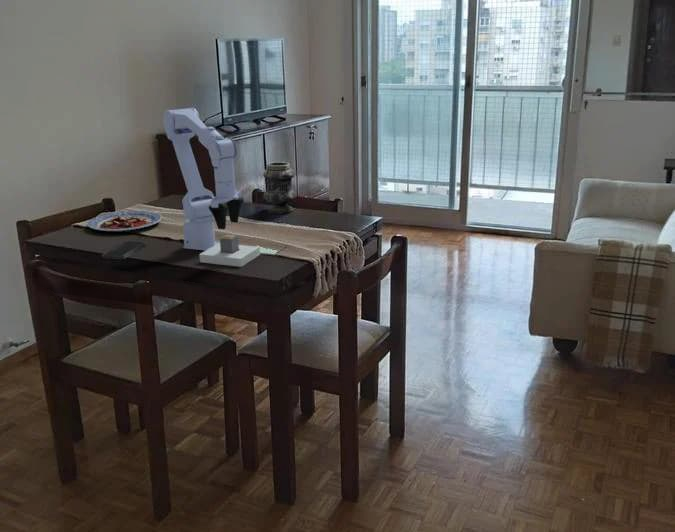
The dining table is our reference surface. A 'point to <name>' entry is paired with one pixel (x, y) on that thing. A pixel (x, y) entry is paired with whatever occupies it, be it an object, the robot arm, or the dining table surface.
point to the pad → (267, 251)
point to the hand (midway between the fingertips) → (228, 225)
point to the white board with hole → (230, 256)
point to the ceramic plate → (123, 221)
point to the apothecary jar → (279, 186)
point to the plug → (229, 244)
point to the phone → (123, 250)
